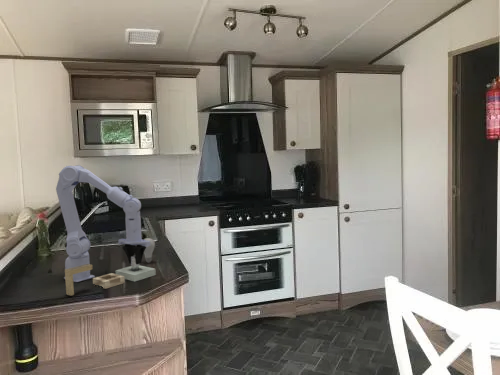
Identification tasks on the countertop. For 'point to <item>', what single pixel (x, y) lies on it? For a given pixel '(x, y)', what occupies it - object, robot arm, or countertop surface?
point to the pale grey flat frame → (136, 273)
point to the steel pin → (134, 264)
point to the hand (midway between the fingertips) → (135, 263)
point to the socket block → (109, 280)
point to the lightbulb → (149, 250)
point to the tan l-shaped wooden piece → (69, 276)
